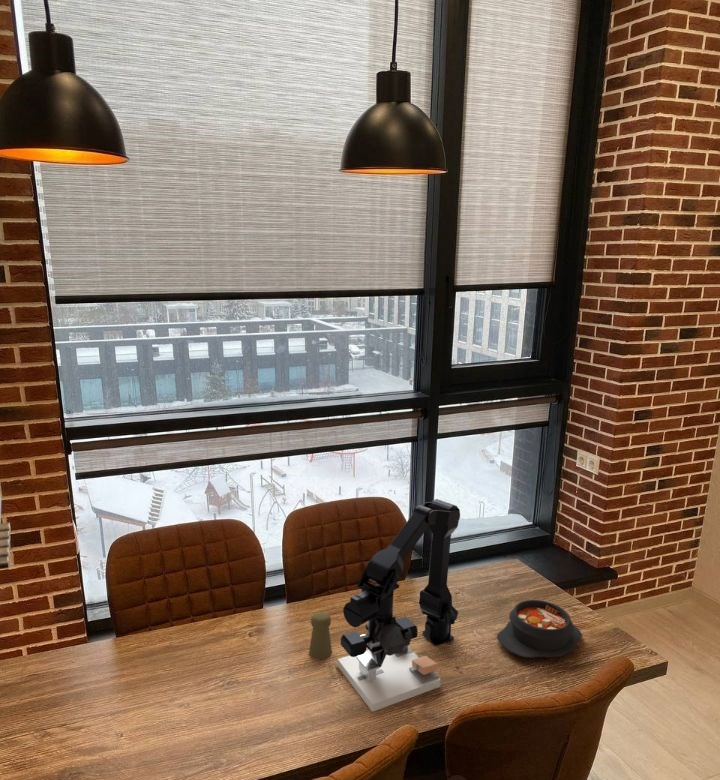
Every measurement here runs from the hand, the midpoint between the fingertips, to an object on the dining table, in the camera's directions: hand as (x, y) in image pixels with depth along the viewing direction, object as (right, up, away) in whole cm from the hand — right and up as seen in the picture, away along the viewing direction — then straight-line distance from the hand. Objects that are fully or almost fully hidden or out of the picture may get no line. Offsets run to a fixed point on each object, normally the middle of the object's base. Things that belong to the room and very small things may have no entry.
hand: (378, 666), depth 151 cm
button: (+6, +1, +10) cm, 11 cm away
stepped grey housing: (-3, -2, -1) cm, 4 cm away
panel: (+2, -3, +2) cm, 5 cm away
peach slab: (+11, 0, 0) cm, 11 cm away
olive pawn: (-15, -1, +11) cm, 18 cm away
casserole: (+45, -2, +18) cm, 48 cm away
